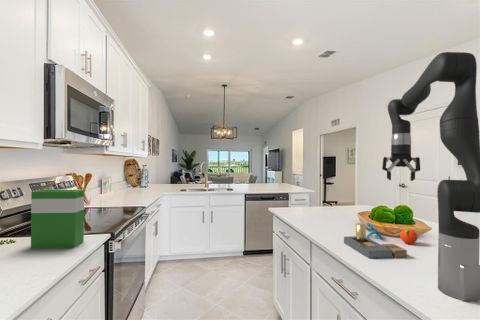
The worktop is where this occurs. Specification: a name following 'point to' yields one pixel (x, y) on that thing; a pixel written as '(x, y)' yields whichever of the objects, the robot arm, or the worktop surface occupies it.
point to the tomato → (408, 236)
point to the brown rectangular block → (396, 250)
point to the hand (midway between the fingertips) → (400, 180)
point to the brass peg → (360, 232)
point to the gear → (373, 231)
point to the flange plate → (368, 248)
